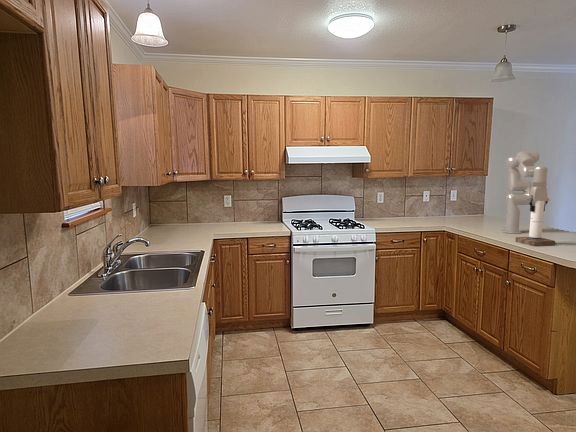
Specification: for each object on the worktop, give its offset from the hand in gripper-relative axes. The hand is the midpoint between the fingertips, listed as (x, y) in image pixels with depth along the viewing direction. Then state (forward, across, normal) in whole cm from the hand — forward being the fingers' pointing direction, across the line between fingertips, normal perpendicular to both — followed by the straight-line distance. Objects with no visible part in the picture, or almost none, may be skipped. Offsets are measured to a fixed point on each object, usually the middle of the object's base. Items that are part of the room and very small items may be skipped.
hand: (537, 211), depth 252 cm
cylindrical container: (+18, 0, 0) cm, 18 cm away
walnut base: (+22, 0, 0) cm, 22 cm away
